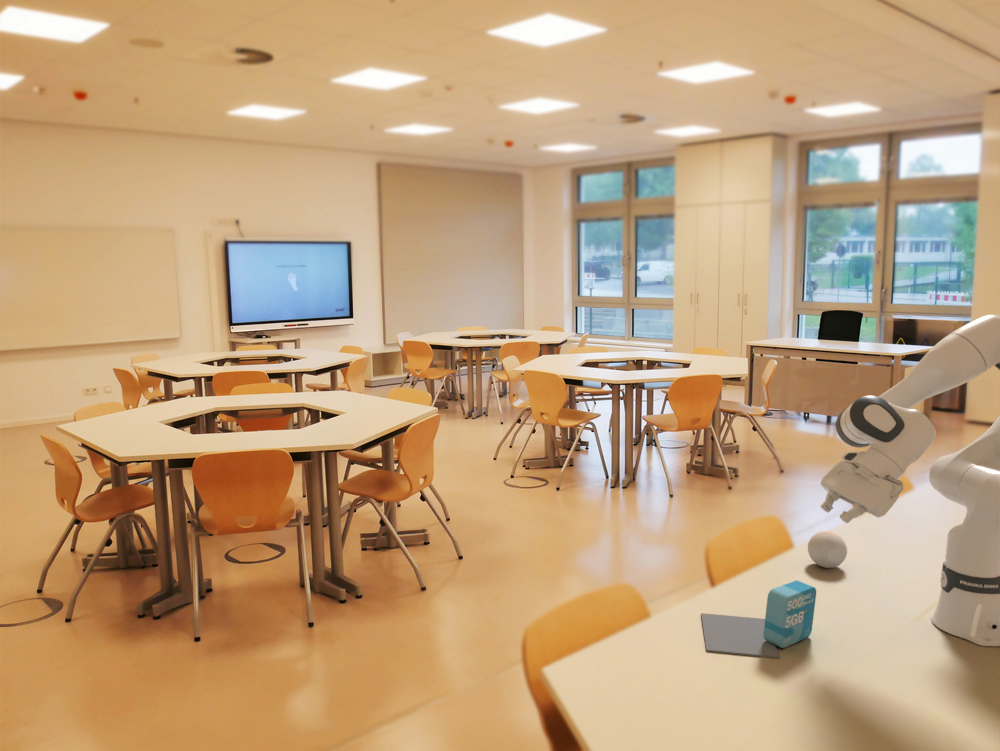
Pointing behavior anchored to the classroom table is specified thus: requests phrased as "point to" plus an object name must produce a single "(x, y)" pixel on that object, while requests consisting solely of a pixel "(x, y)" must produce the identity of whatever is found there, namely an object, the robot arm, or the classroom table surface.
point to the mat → (737, 636)
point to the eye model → (827, 549)
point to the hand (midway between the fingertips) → (833, 515)
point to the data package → (789, 613)
